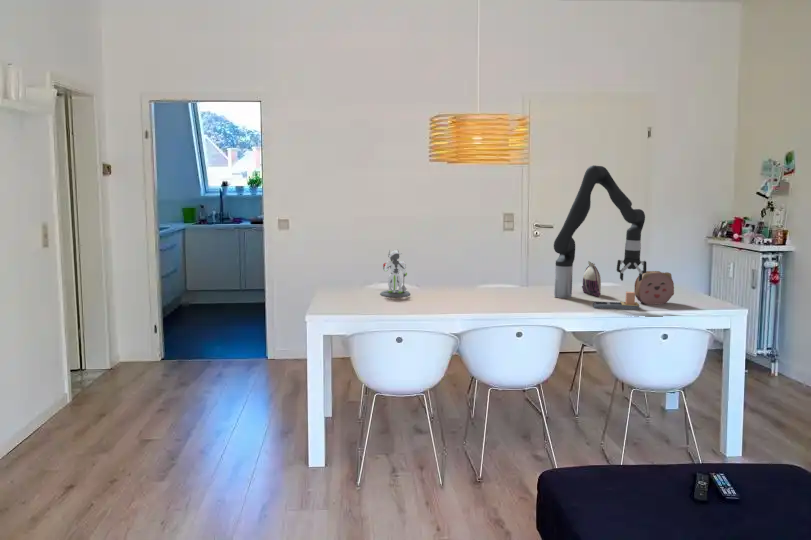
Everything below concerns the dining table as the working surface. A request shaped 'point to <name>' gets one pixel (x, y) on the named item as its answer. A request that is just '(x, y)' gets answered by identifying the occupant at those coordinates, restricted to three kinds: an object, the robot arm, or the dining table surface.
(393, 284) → the figurine
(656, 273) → the face sculpture
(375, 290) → the dining table surface
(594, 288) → the pouch
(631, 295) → the block
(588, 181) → the robot arm
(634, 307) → the rail
